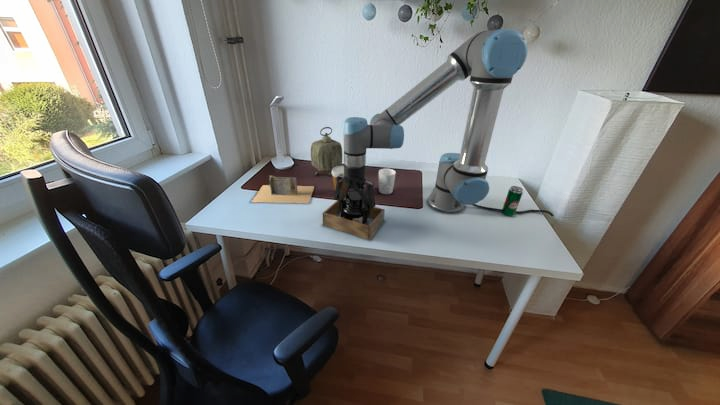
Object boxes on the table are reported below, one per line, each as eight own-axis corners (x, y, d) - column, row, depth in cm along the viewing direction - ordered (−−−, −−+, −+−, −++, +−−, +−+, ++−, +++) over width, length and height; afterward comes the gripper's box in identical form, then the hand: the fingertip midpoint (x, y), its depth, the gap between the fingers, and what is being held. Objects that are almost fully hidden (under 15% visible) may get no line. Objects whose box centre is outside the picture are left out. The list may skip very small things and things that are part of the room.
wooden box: (383, 221, 107) (384, 209, 104) (369, 240, 97) (370, 227, 94) (340, 208, 115) (340, 197, 112) (323, 225, 104) (322, 213, 101)
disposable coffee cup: (343, 200, 121) (343, 175, 115) (327, 194, 125) (326, 170, 119) (356, 192, 127) (356, 169, 121) (341, 186, 132) (340, 163, 126)
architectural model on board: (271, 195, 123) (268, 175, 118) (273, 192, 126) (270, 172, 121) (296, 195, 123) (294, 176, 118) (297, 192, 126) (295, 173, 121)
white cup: (396, 193, 128) (398, 174, 123) (381, 196, 125) (383, 176, 120) (389, 186, 134) (390, 167, 129) (374, 188, 131) (375, 169, 126)
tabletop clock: (334, 168, 151) (333, 123, 139) (344, 173, 145) (343, 127, 133) (312, 174, 143) (308, 127, 131) (321, 180, 137) (318, 131, 125)
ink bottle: (358, 232, 100) (358, 204, 94) (338, 225, 104) (337, 198, 98) (370, 219, 108) (371, 193, 102) (351, 213, 111) (351, 187, 105)
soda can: (507, 217, 112) (516, 191, 106) (498, 211, 116) (507, 186, 110) (517, 216, 113) (526, 190, 107) (508, 209, 117) (517, 184, 111)
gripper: (388, 166, 92) (383, 221, 104) (333, 155, 100) (334, 207, 112) (379, 174, 86) (375, 232, 98) (322, 162, 94) (325, 216, 106)
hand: (354, 219), depth 105 cm, fingers closed on ink bottle, 9 cm apart
